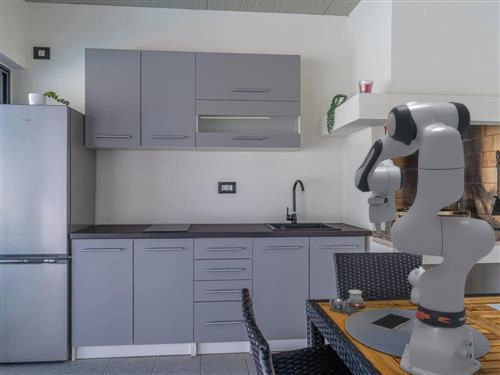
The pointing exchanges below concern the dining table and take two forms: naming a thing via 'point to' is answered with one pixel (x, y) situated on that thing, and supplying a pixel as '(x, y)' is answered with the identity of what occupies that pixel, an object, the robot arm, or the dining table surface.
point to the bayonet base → (344, 306)
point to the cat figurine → (415, 284)
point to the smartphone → (390, 322)
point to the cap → (355, 297)
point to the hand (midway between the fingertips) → (383, 232)
